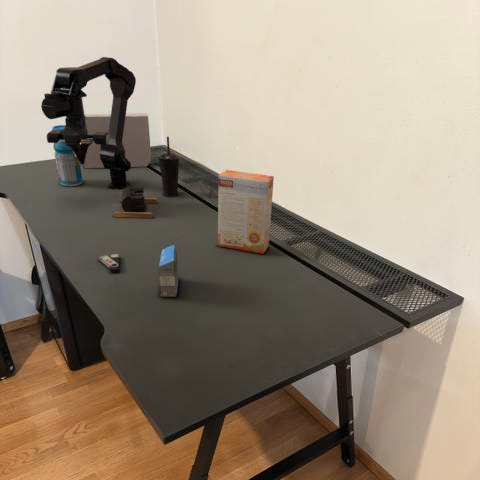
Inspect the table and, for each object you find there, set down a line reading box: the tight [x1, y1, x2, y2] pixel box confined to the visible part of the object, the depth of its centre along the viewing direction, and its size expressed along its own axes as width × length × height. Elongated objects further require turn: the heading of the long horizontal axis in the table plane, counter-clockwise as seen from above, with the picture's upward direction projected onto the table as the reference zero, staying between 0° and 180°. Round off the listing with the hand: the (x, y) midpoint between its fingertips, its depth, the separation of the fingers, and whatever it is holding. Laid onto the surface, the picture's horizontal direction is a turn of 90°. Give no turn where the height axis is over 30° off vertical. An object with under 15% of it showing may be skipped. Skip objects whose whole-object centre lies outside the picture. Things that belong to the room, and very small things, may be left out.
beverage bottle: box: [51, 124, 84, 187], centre depth 165 cm, size 8×8×20 cm
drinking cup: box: [157, 136, 181, 198], centre depth 160 cm, size 8×8×20 cm
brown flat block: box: [113, 197, 158, 219], centre depth 152 cm, size 14×12×2 cm
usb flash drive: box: [98, 253, 120, 273], centre depth 120 cm, size 9×5×1 cm, turn 12°
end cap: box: [121, 185, 146, 212], centre depth 150 cm, size 10×7×7 cm
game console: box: [80, 112, 152, 169], centre depth 186 cm, size 6×27×20 cm, turn 104°
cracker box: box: [217, 169, 274, 255], centre depth 126 cm, size 14×6×21 cm, turn 71°
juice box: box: [158, 234, 179, 298], centre depth 108 cm, size 9×4×12 cm, turn 3°
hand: (82, 164), depth 152 cm, fingers closed
